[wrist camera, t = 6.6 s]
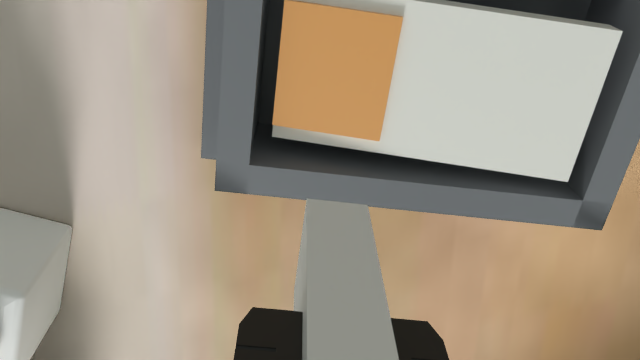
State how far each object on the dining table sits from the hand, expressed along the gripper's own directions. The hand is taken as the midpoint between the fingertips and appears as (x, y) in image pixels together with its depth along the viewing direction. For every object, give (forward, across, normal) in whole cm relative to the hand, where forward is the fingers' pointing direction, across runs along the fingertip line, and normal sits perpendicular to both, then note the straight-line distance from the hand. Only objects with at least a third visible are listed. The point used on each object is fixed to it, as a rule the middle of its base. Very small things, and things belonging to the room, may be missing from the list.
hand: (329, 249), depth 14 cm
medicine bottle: (+19, +18, +15) cm, 30 cm away
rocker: (+14, -5, -1) cm, 15 cm away
